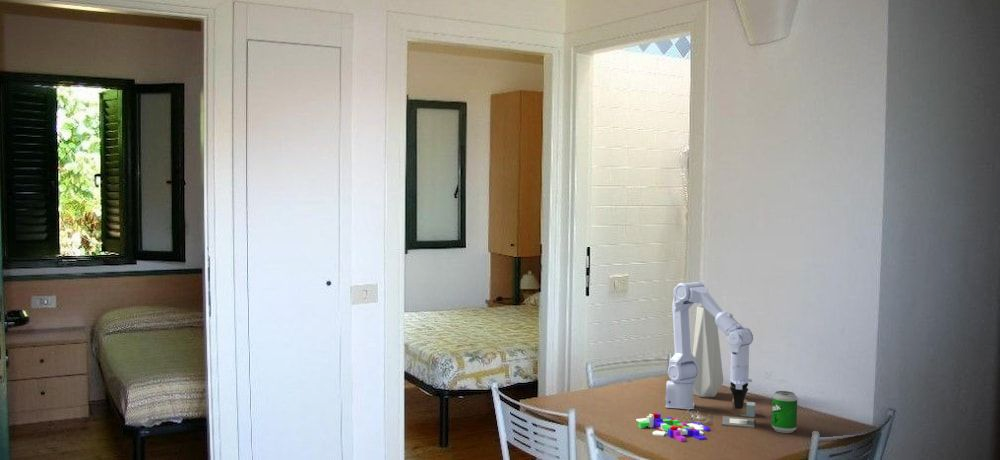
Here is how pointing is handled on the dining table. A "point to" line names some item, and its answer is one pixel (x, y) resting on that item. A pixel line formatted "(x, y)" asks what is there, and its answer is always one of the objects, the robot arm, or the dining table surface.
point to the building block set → (673, 427)
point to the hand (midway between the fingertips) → (738, 406)
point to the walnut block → (739, 411)
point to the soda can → (784, 411)
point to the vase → (707, 355)
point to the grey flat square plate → (738, 422)
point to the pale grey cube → (750, 409)
